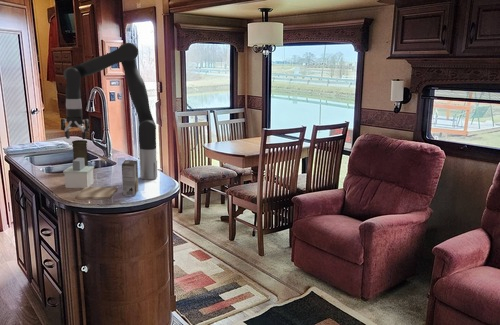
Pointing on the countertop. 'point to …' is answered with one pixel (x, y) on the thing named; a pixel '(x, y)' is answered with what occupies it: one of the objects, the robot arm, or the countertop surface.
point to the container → (80, 150)
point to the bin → (79, 180)
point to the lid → (79, 167)
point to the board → (96, 193)
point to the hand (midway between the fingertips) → (76, 138)
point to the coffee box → (130, 177)
